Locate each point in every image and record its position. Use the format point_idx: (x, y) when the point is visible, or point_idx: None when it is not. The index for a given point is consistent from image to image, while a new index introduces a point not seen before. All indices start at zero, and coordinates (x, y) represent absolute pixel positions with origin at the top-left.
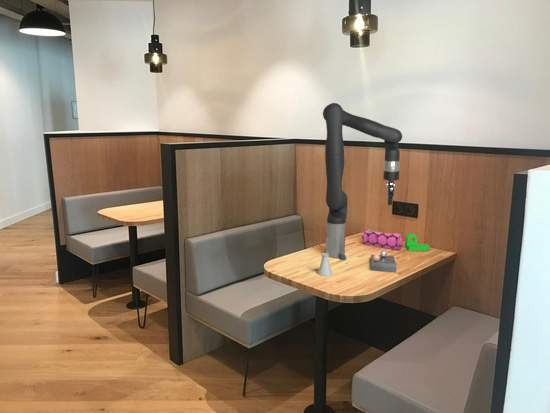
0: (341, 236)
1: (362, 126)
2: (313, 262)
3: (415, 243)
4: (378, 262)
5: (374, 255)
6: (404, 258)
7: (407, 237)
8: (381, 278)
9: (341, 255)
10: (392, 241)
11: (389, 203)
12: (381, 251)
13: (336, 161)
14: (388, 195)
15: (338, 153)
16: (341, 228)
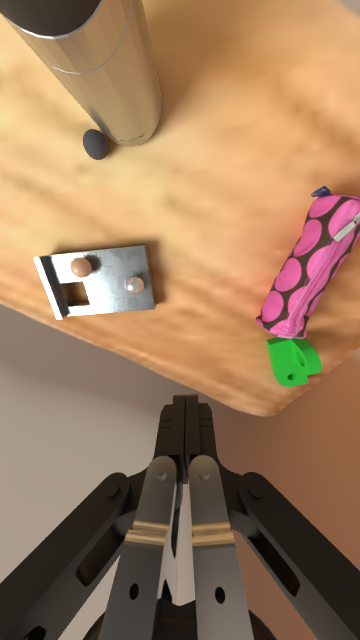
0: (59, 80)
1: None
2: None
3: (296, 361)
4: (44, 276)
5: (73, 263)
6: (187, 328)
7: (303, 352)
8: (11, 282)
9: (85, 134)
10: (267, 308)
11: (164, 413)
12: (128, 281)
13: None
14: (87, 497)
15: None
16: (21, 37)
